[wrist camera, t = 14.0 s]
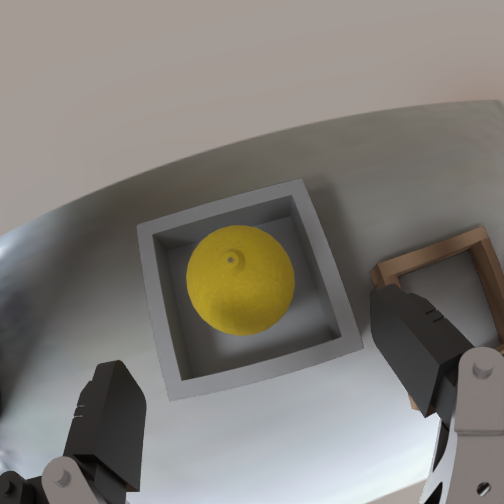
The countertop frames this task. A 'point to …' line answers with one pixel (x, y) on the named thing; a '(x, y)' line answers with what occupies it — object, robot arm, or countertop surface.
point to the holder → (249, 346)
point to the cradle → (476, 241)
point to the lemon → (240, 280)
